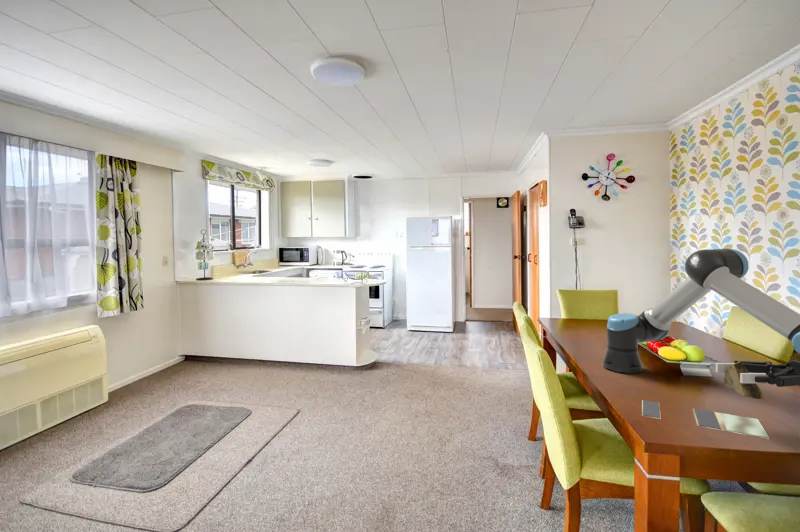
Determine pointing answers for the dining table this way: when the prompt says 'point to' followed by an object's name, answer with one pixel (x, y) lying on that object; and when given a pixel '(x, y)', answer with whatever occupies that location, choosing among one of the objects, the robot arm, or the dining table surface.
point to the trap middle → (707, 418)
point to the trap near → (651, 409)
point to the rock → (742, 388)
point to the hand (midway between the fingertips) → (728, 372)
